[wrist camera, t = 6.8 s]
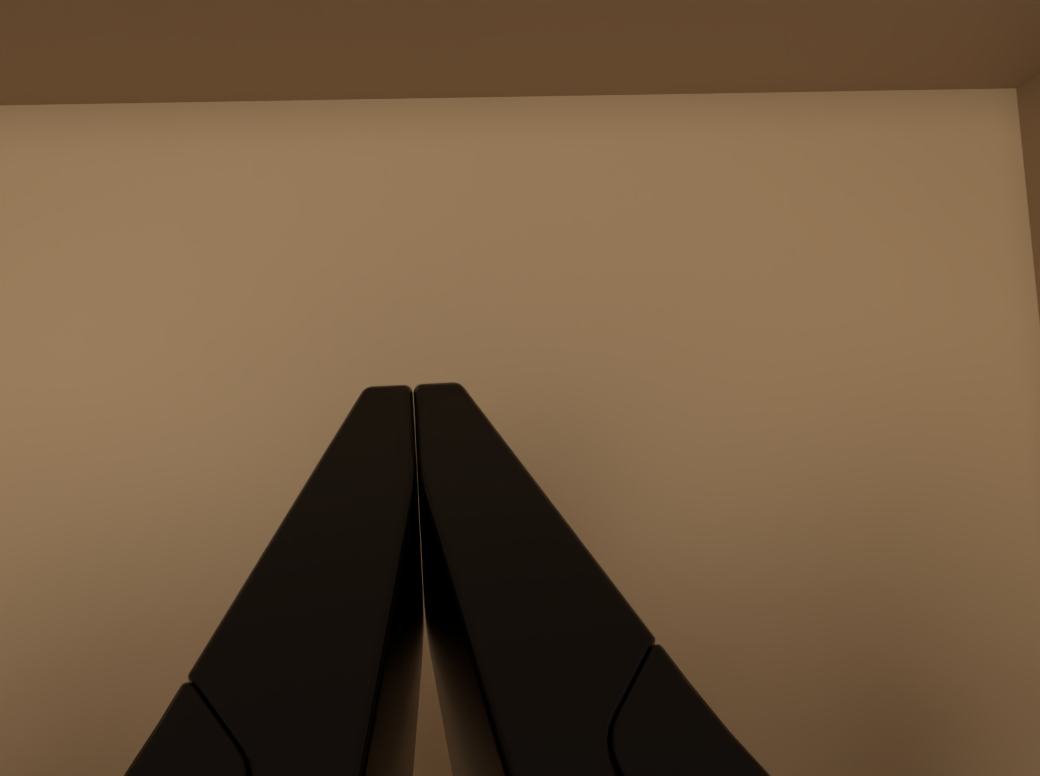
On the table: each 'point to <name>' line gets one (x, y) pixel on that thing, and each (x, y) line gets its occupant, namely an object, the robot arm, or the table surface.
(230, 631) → the robot arm
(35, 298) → the carton
